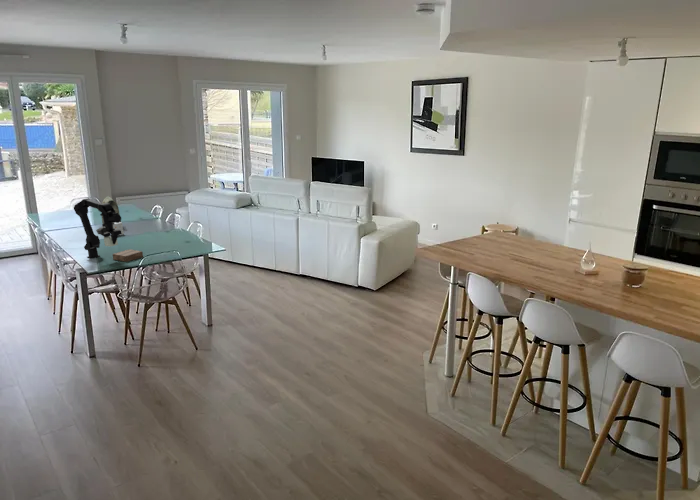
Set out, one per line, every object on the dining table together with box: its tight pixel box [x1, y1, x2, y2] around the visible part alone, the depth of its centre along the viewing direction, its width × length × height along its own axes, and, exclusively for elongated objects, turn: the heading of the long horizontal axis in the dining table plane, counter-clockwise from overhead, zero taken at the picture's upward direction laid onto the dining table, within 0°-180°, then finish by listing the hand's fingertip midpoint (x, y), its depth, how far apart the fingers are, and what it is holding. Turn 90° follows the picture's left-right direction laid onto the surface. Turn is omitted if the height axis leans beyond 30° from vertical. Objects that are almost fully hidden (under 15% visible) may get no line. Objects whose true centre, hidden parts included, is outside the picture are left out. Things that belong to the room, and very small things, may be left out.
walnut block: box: [112, 248, 144, 263], centre depth 363 cm, size 14×14×4 cm
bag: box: [101, 195, 122, 224], centre depth 463 cm, size 22×16×27 cm
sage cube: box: [103, 236, 119, 248], centre depth 356 cm, size 6×6×6 cm
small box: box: [113, 221, 125, 236], centre depth 434 cm, size 8×6×10 cm
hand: (111, 243), depth 357 cm, fingers closed on sage cube, 6 cm apart
